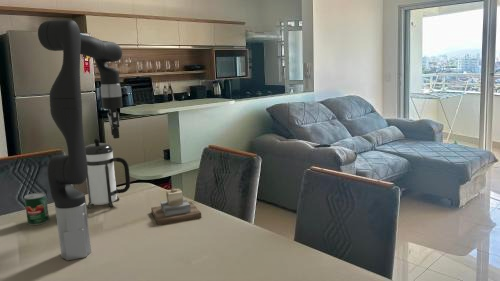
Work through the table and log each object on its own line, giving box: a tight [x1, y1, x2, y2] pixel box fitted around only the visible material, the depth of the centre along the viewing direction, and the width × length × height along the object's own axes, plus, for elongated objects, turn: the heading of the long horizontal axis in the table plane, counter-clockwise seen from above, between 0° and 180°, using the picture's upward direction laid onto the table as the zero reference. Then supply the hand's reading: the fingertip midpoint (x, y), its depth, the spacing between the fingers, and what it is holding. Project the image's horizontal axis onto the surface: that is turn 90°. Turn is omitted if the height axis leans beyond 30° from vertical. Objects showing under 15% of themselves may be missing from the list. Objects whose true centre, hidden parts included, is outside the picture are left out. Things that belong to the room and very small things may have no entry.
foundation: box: [151, 197, 202, 226], centre depth 175 cm, size 16×17×5 cm
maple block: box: [165, 188, 184, 206], centre depth 174 cm, size 6×6×6 cm
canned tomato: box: [23, 192, 50, 226], centre depth 173 cm, size 8×8×11 cm
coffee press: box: [85, 137, 131, 210], centre depth 190 cm, size 17×16×30 cm
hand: (115, 136), depth 170 cm, fingers open, 8 cm apart
